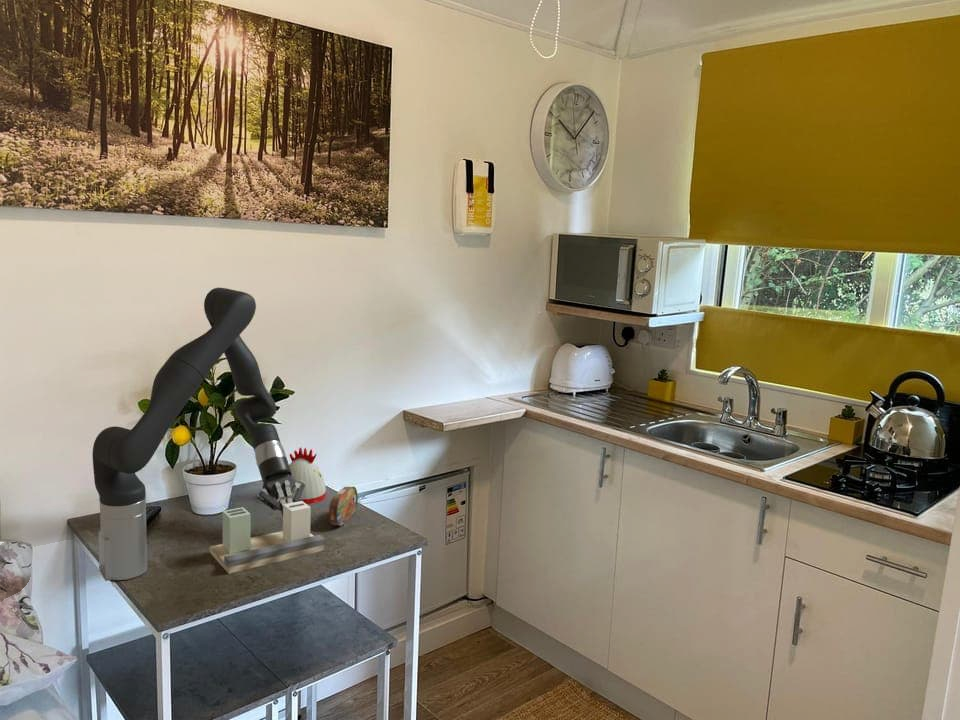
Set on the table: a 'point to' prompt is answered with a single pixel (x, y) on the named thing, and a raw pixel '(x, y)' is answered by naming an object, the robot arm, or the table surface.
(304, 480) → the kitchen timer
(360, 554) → the table surface
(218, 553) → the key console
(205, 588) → the table surface
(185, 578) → the table surface
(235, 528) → the key two
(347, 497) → the tin
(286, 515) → the key one
